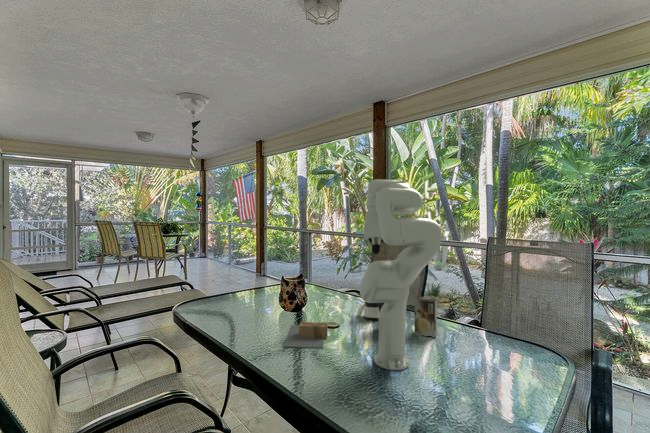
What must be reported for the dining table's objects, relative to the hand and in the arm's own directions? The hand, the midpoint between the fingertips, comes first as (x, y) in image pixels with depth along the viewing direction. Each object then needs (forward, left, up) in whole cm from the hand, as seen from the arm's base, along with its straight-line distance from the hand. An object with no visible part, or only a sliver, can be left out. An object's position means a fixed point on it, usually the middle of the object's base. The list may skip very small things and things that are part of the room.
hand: (375, 253), depth 136 cm
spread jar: (+30, 0, -37) cm, 48 cm away
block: (+2, +20, -34) cm, 40 cm away
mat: (+2, +30, -37) cm, 47 cm away
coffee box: (+9, -24, -37) cm, 45 cm away
